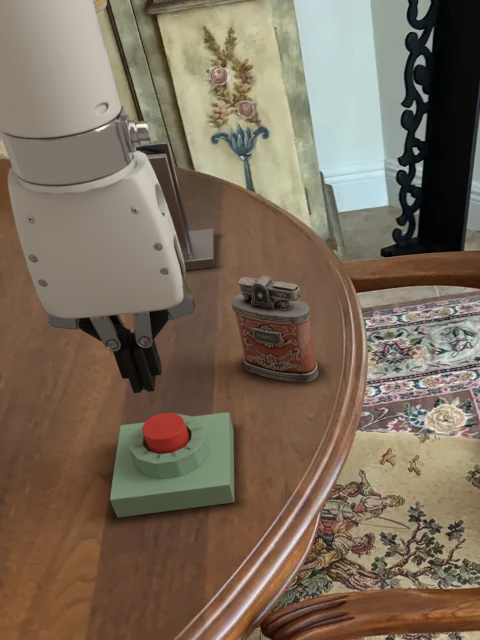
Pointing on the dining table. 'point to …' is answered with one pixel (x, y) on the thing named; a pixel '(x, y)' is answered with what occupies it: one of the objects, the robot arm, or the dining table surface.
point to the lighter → (275, 330)
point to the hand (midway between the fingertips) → (145, 381)
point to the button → (165, 433)
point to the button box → (175, 469)
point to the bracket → (180, 210)
